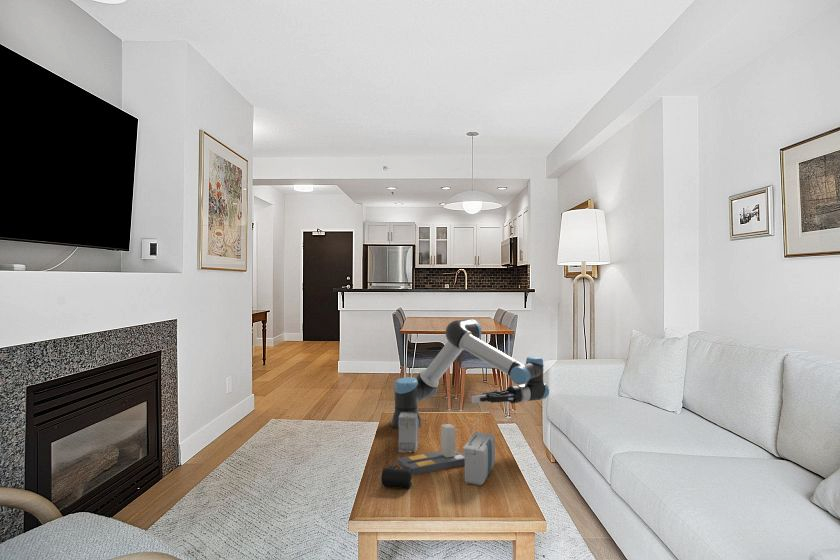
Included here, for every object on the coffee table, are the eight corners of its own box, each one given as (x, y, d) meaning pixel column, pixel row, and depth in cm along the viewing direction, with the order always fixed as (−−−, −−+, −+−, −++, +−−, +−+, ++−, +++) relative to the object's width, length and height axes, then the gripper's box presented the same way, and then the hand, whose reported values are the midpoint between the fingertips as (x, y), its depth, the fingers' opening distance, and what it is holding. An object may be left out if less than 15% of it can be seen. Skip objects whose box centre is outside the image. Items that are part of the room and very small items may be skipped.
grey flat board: (397, 464, 193) (397, 458, 193) (453, 454, 204) (453, 448, 204) (409, 475, 182) (409, 468, 182) (468, 464, 194) (468, 457, 194)
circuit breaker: (419, 441, 221) (419, 409, 221) (415, 452, 207) (415, 417, 207) (402, 441, 221) (402, 408, 222) (398, 452, 207) (398, 417, 207)
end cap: (381, 490, 170) (381, 470, 170) (386, 481, 177) (386, 463, 177) (408, 492, 168) (408, 473, 168) (413, 484, 175) (413, 465, 175)
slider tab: (440, 453, 198) (440, 425, 198) (449, 452, 199) (449, 423, 200) (446, 457, 193) (446, 428, 193) (455, 456, 195) (455, 427, 195)
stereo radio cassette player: (484, 487, 172) (483, 431, 172) (461, 484, 174) (461, 429, 174) (495, 466, 191) (495, 416, 191) (475, 464, 194) (475, 414, 194)
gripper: (527, 405, 209) (481, 412, 199) (508, 399, 221) (464, 405, 210) (526, 388, 209) (480, 394, 199) (508, 382, 221) (464, 387, 211)
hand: (472, 399), depth 205 cm, fingers closed
